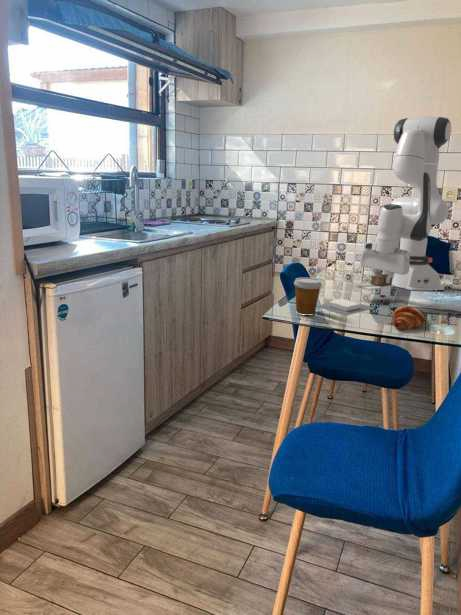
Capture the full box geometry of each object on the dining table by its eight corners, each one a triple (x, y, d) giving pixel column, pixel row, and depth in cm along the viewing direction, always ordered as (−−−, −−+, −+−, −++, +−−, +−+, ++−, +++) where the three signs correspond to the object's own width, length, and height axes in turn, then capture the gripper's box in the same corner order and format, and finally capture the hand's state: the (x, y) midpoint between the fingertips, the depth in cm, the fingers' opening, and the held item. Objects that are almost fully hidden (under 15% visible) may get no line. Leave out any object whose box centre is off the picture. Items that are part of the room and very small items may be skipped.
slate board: (344, 301, 196) (345, 299, 196) (375, 310, 186) (376, 308, 186) (314, 308, 185) (314, 306, 185) (345, 317, 175) (345, 315, 175)
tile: (342, 298, 190) (329, 301, 185) (360, 303, 184) (346, 306, 179) (342, 303, 190) (328, 306, 185) (360, 308, 185) (346, 311, 180)
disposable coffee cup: (322, 317, 174) (326, 283, 171) (296, 317, 173) (298, 283, 170) (313, 309, 183) (316, 277, 180) (288, 309, 182) (290, 277, 179)
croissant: (407, 325, 182) (400, 304, 182) (435, 317, 176) (427, 296, 176) (387, 338, 165) (379, 315, 165) (417, 330, 159) (408, 306, 159)
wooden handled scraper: (395, 286, 202) (397, 276, 201) (369, 290, 191) (371, 280, 190) (380, 282, 207) (382, 273, 206) (354, 286, 196) (355, 276, 195)
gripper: (415, 250, 192) (409, 286, 195) (369, 242, 207) (365, 276, 210) (406, 251, 188) (400, 287, 191) (360, 243, 203) (355, 277, 206)
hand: (381, 281), depth 201 cm, fingers closed on wooden handled scraper, 3 cm apart
